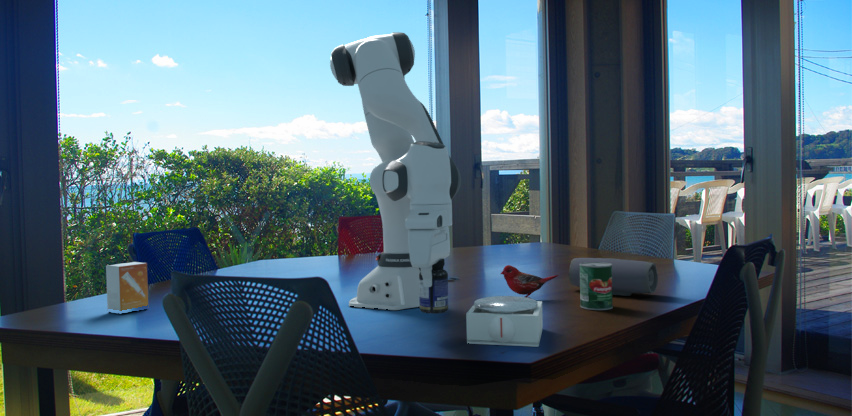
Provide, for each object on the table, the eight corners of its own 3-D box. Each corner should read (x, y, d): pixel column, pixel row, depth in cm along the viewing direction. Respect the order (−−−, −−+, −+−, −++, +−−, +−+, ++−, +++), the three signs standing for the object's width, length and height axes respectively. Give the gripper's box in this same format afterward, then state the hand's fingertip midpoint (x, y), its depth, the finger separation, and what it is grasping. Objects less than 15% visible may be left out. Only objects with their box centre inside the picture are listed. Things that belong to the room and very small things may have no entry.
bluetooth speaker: (567, 292, 161) (567, 258, 161) (581, 287, 168) (580, 254, 168) (647, 300, 146) (647, 263, 146) (659, 295, 153) (658, 259, 153)
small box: (120, 315, 146) (118, 266, 146) (107, 313, 149) (104, 265, 149) (149, 309, 153) (147, 262, 153) (136, 307, 156) (133, 261, 156)
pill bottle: (448, 308, 120) (448, 257, 119) (447, 314, 114) (447, 261, 113) (420, 307, 120) (420, 257, 120) (417, 314, 114) (417, 261, 114)
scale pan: (469, 326, 111) (469, 307, 110) (480, 312, 123) (479, 295, 123) (535, 329, 107) (535, 309, 107) (539, 314, 120) (539, 296, 120)
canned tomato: (590, 302, 146) (589, 261, 145) (618, 306, 140) (617, 263, 140) (574, 307, 140) (573, 264, 140) (602, 312, 135) (601, 267, 134)
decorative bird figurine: (498, 301, 150) (497, 265, 150) (556, 296, 155) (555, 260, 155) (503, 303, 147) (502, 266, 147) (561, 298, 153) (560, 262, 152)
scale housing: (466, 344, 110) (465, 314, 109) (478, 326, 124) (478, 299, 124) (538, 347, 106) (537, 316, 106) (542, 328, 120) (542, 301, 120)
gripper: (429, 215, 127) (430, 275, 128) (402, 221, 108) (404, 291, 108) (456, 215, 126) (457, 275, 126) (433, 220, 106) (435, 292, 106)
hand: (432, 283), depth 117 cm, fingers closed on pill bottle, 6 cm apart
